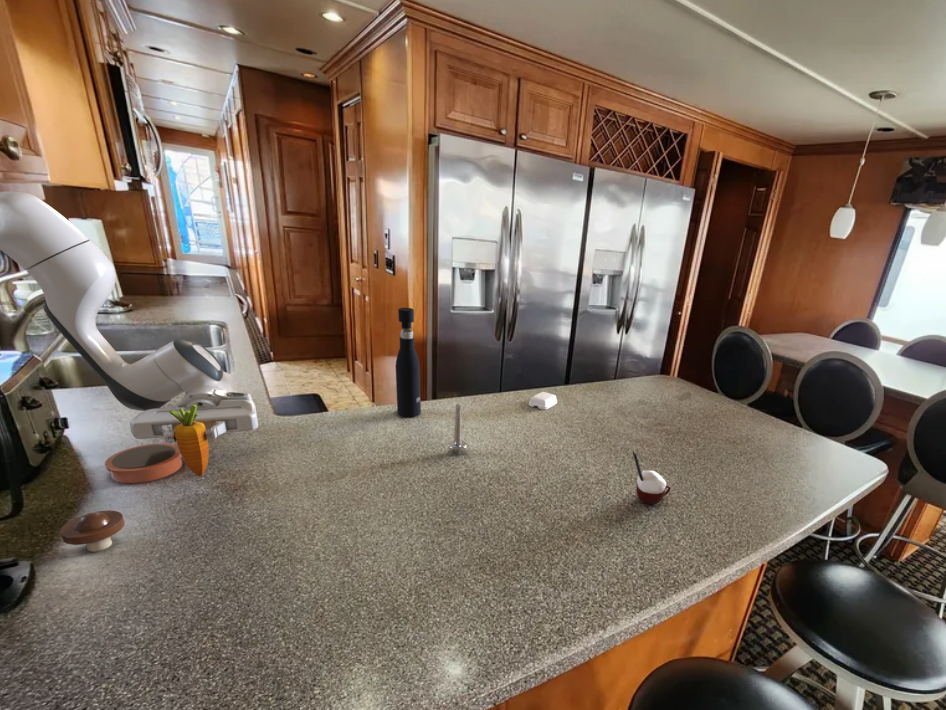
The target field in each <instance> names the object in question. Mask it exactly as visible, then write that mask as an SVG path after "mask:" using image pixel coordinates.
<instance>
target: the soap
mask: <svg viewBox="0 0 946 710" xmlns="http://www.w3.org/2000/svg"><path fill="white" fill-rule="evenodd" d="M557 403H558V399H557V396H556V395H555V394H553V393H550V392H546V391H540V392H539V393H537V394H535V395H533V396H531V397H530V398H529V402H528V406H529V407H537V408H538V409H540V410H548V409H550V408H552V407H553V406H555V405H556V404H557Z"/></svg>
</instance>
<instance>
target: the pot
mask: <svg viewBox="0 0 946 710" xmlns="http://www.w3.org/2000/svg"><path fill="white" fill-rule="evenodd" d="M104 466H105V469H106V470H107V471H109V473H110V477H111V479H112V481H114V482H117V483H121V484H141V483H142V484H143V483H149V482H153V481H156V480H159V479H162V478H165V477H168V476H171V475H173V474H174V473H176V472H177V471H179V470H180V469H181V468H182V466H183V458H182V455H181V453H180V450H179V447H178V445H176V444H171V443H150V444H149V443H148V444H143V445H137V446H133V447H129V448H126V449H124V450H120V451H119V452H117V453H114V454H113V455H111V456H109V457H108V458H107V459H106V460H105V462H104Z"/></svg>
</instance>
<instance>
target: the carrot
mask: <svg viewBox="0 0 946 710" xmlns="http://www.w3.org/2000/svg"><path fill="white" fill-rule="evenodd" d="M196 409H197V406H196V405H192V406H191V409H190V411H189V410H186V412H185V413H184V411H183V409H182V408H180V409H179V412H180V414H181V416H182V417H181V416H180V415H179V414H178V413H177V412H176V411H174V410H171V411H170V412H169V413H170V414H172V415H173V416H174V417H176V418H177V419H178V420H179V421H180V422H181V423H182V424H179V425H177V426H176V427H175V437H176V444H177V446H178V447H179V450H180V453H181V455H182V456H181V458H182V460H183V462H184V463H185V465H186V467H187V468H188V469H189V470H190V471H191V472H192V473H193V474H194V475H195V476H197V477H202V476H204V475H205V472H206V470H207V468H208V464H209V456H210V455H209V454H210V452H209V450H210V449H209V442H208V441H209V439H206V435H205V431H206V429H205V425H204V424H203V423H201V422H195V421H194V420H195V418H196V417H197V416H198V413H196ZM195 413H196V414H195Z"/></svg>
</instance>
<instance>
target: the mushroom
mask: <svg viewBox="0 0 946 710" xmlns="http://www.w3.org/2000/svg"><path fill="white" fill-rule="evenodd" d="M125 524H126V522H125V518H124V515H123V513H122V512H120V511H117V510H98V511H93V512H88V513H85V514H83V515H80V516H77V517H75V518H73V519H71V520H69V521H68V522H66V523H64V525H63V526H62V527H61V528H60V530H59V534H60V536H61V539H62V541H63V542H64V543H65V544H67V545H69V546H70V545H71V546H83V545H85V546H86V548H87V550H88V551H89V552H92V553H96V552H101V551H104V550H106V549H108V548H109V547H111V546H112V544H113V540H112V538H111V537H112V536H114V535H116V534H117V533H119V532H120V531H121V530H122V529H123V528H124V527H125Z"/></svg>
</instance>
